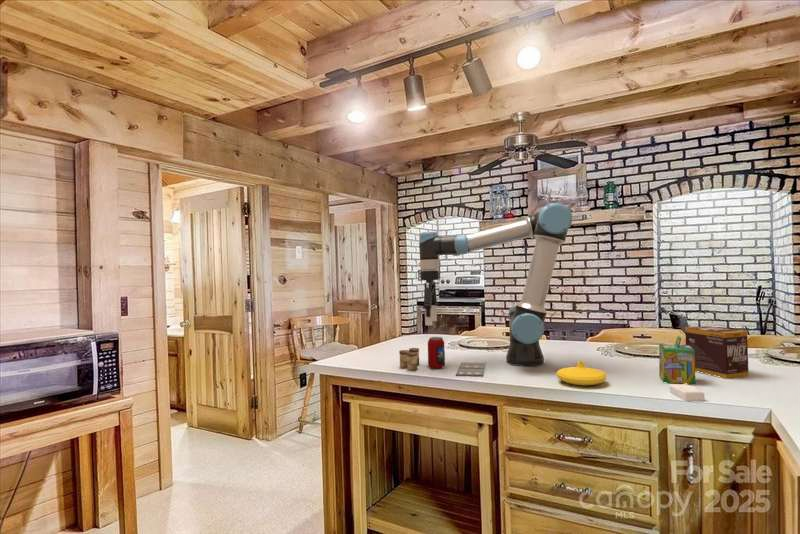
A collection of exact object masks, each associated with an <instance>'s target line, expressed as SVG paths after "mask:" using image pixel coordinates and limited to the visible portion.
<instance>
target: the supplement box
mask: <svg viewBox="0 0 800 534" xmlns="http://www.w3.org/2000/svg"><path fill="white" fill-rule="evenodd" d="M684 333H685V345H689V346H691V347H692V348H693V349H694V351H695V371H699V372H703V373H707V374H706V375H708V374H711V375H710V376H712V375H716V376H720V377H723V378H722V379H724V378H729V379H735V378H734V377H737V378H744V376H745V377H749V376H750V374H749V373H750V371H749V352H748V351H749V350H748V330H741V329H736V328H735V329H734V328H726V327H718V326H717V327H716V326H709V325H703V326H691V327H685V332H684ZM699 372H698V373H699ZM703 373H702V374H703ZM716 376H715V377H716ZM720 377H719V378H720Z"/></svg>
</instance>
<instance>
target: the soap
mask: <svg viewBox="0 0 800 534" xmlns="http://www.w3.org/2000/svg"><path fill="white" fill-rule="evenodd" d="M669 393H670V394H671V393H672V394H671V395H673V396H675V397H677V398H679V399H681V400H683V401H685V402H704V401H705V399H706V398H705V397H706V396H705V392H704V391H702V390H700V389H698V388H696V387H694V386H692V385H691V384H679V383H670V385H669Z"/></svg>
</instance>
